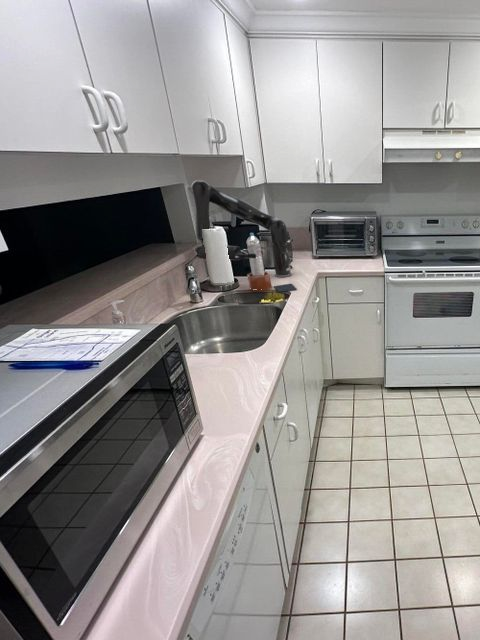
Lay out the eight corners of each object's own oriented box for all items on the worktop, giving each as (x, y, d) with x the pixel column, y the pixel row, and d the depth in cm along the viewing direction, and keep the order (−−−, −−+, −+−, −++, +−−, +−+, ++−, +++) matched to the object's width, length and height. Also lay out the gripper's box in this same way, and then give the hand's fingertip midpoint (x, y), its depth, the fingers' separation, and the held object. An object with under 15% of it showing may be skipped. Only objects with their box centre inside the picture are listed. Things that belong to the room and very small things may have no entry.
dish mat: (273, 287, 216) (273, 286, 215) (291, 284, 220) (291, 283, 219) (278, 292, 207) (278, 291, 207) (296, 289, 211) (296, 288, 211)
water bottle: (257, 282, 207) (249, 235, 195) (250, 279, 211) (242, 233, 199) (268, 279, 212) (261, 233, 199) (261, 277, 216) (253, 231, 203)
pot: (248, 287, 216) (246, 273, 212) (268, 284, 220) (266, 270, 217) (252, 292, 207) (250, 278, 203) (273, 289, 212) (271, 275, 208)
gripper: (222, 249, 199) (251, 250, 196) (236, 243, 212) (264, 244, 209) (225, 263, 203) (253, 265, 200) (239, 256, 215) (266, 258, 212)
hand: (259, 254), depth 204 cm, fingers closed on water bottle, 6 cm apart
